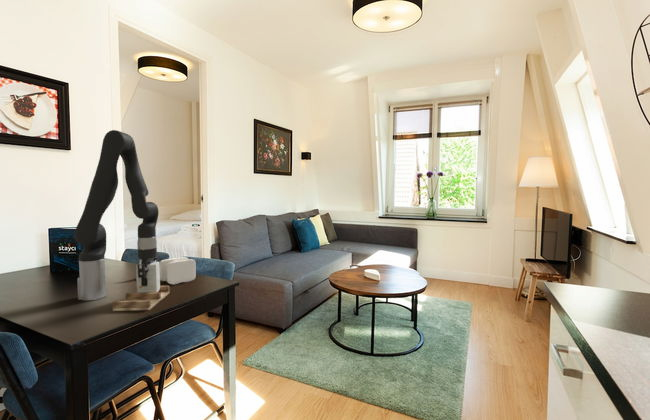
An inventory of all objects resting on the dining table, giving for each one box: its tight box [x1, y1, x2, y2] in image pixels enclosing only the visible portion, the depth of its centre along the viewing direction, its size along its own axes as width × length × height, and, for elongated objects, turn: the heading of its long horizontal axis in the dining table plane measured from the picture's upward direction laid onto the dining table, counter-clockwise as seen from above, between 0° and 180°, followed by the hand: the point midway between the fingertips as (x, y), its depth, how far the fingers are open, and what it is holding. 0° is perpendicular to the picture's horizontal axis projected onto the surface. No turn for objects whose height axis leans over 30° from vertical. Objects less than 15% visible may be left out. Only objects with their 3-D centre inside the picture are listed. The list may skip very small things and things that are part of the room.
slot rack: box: [112, 285, 171, 312], centre depth 142 cm, size 14×22×4 cm, turn 5°
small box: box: [135, 261, 161, 293], centre depth 147 cm, size 8×6×13 cm
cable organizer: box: [159, 256, 197, 285], centre depth 172 cm, size 15×11×12 cm
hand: (148, 283), depth 147 cm, fingers closed on small box, 6 cm apart
